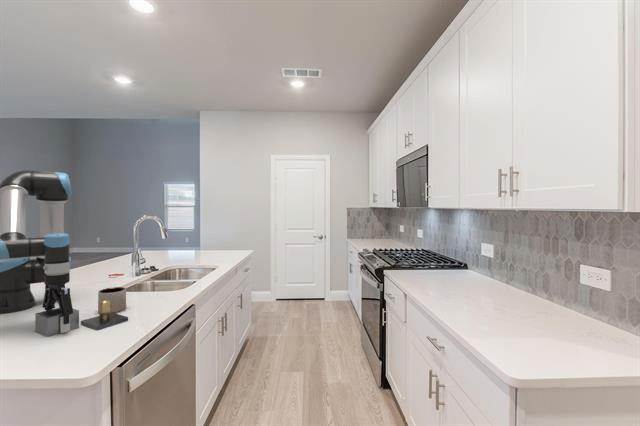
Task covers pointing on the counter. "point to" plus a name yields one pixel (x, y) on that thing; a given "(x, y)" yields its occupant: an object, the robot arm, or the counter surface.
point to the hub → (104, 318)
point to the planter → (113, 298)
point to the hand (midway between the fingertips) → (57, 329)
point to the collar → (53, 321)
